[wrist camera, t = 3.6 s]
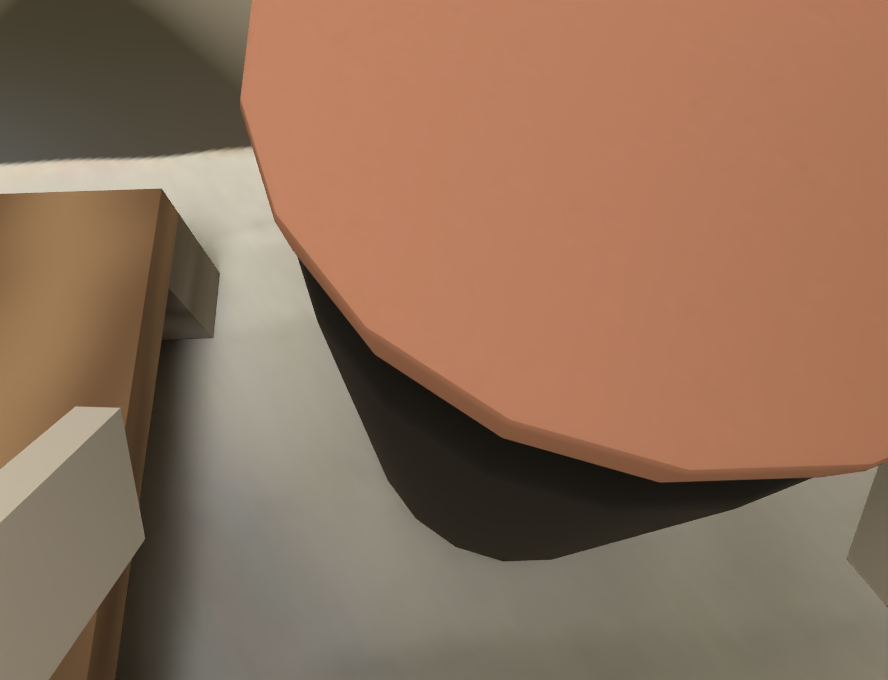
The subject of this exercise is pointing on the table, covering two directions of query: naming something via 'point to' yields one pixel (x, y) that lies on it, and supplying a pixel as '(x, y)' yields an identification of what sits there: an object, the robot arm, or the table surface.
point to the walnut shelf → (94, 335)
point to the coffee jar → (587, 248)
